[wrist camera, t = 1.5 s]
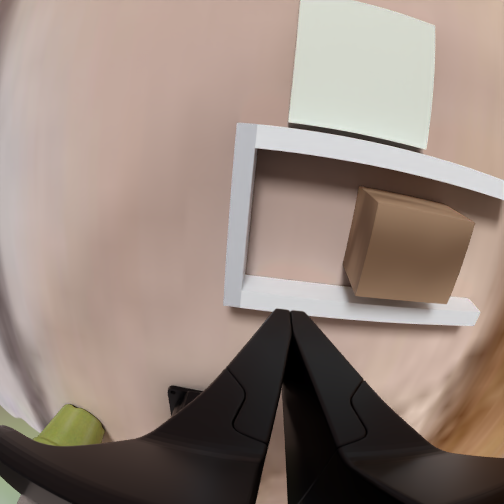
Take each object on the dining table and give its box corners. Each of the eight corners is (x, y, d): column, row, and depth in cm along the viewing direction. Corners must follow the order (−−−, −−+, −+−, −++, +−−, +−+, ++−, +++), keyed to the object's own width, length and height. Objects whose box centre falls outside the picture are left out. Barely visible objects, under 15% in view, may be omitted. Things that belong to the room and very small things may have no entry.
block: (422, 273, 19) (446, 304, 15) (342, 262, 19) (355, 295, 15) (442, 203, 17) (474, 223, 13) (358, 185, 17) (378, 202, 13)
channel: (463, 311, 19) (474, 325, 18) (228, 288, 20) (223, 305, 18) (504, 180, 15) (521, 187, 13) (241, 123, 16) (237, 122, 14)
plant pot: (129, 432, 30) (105, 490, 22) (100, 445, 33) (79, 491, 25) (65, 385, 27) (30, 439, 19) (47, 405, 31) (19, 449, 23)
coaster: (420, 148, 15) (426, 149, 15) (287, 122, 16) (288, 122, 15) (429, 28, 12) (435, 25, 11) (300, -4, 13) (301, -9, 12)
